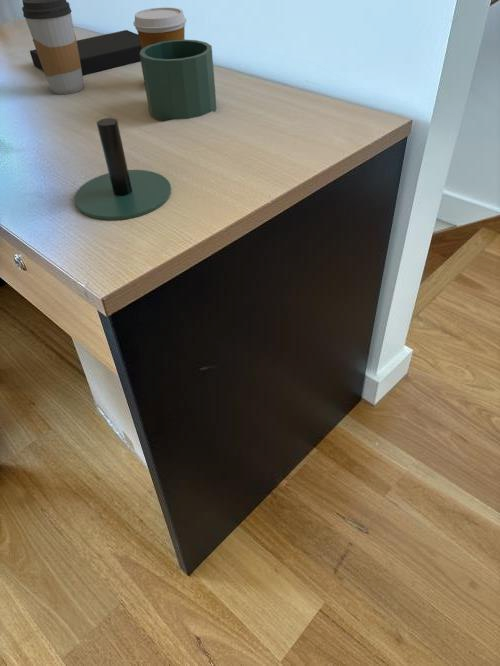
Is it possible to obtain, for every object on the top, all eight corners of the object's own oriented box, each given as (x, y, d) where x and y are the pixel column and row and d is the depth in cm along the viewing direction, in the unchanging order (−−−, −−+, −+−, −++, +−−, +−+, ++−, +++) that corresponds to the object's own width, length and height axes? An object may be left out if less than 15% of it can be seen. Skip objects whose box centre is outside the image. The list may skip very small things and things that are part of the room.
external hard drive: (158, 56, 112) (156, 41, 110) (58, 81, 103) (54, 65, 101) (128, 44, 121) (125, 29, 119) (33, 65, 111) (29, 50, 109)
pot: (142, 105, 91) (131, 46, 85) (202, 93, 95) (196, 36, 88) (162, 127, 84) (152, 65, 77) (226, 113, 87) (222, 52, 80)
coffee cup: (97, 88, 99) (76, -3, 89) (58, 99, 95) (32, 6, 85) (76, 78, 104) (54, -9, 93) (38, 89, 100) (10, -1, 89)
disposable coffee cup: (134, 85, 99) (121, 14, 91) (173, 73, 104) (164, 4, 96) (163, 96, 94) (152, 22, 86) (203, 83, 99) (196, 11, 91)
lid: (68, 190, 69) (45, 114, 62) (155, 169, 73) (142, 95, 66) (87, 234, 61) (63, 153, 54) (185, 208, 65) (173, 129, 58)
